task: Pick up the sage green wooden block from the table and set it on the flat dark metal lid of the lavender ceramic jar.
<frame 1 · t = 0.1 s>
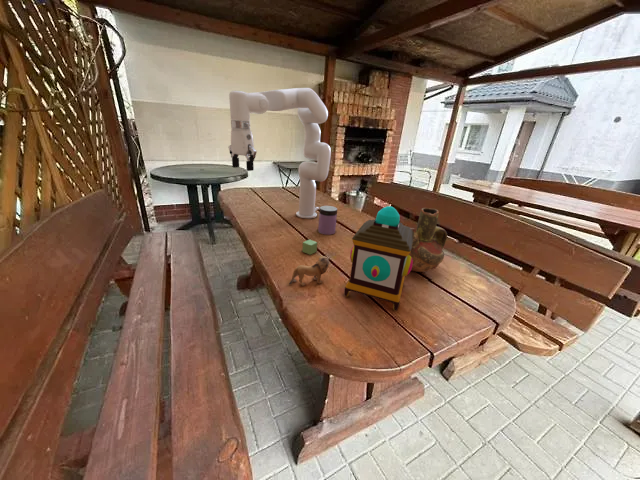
hand: (242, 168, 113), 31 cm above the table, tool pointing down, fingers open, 9 cm apart
ceramic vessel: (413, 269, 106), on the table
decorative lantern: (374, 290, 90), on the table
block: (309, 251, 114), on the table
lion figurine: (309, 281, 93), on the table
jar: (326, 231, 137), on the table
jar lid: (328, 209, 133), point 12 cm above the table, screwed on, not yet turned
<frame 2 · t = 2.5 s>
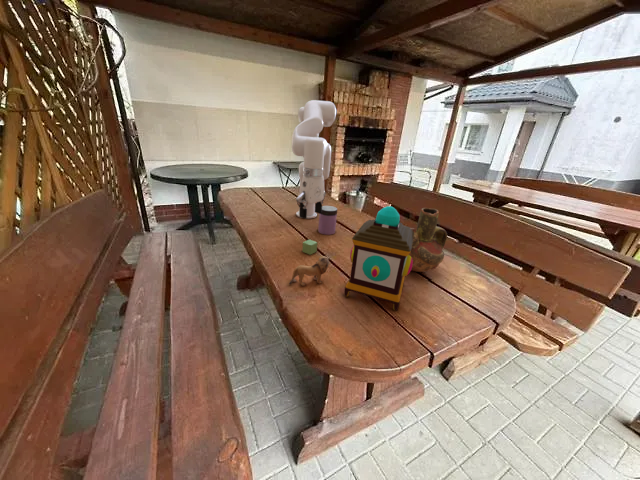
hand: (310, 215, 107), 17 cm above the table, tool pointing down, fingers open, 9 cm apart
nothing on the table moved.
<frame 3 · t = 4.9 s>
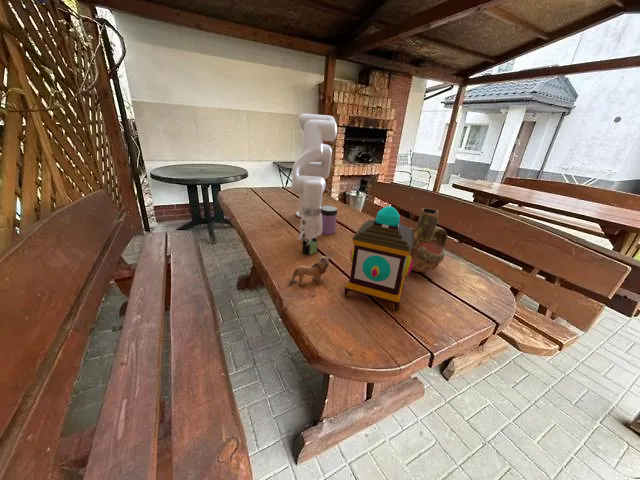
hand: (309, 250, 114), 1 cm above the table, tool pointing down, fingers closed on block, 4 cm apart
block: (309, 251, 114), on the table, touching gripper
everything else where it was.
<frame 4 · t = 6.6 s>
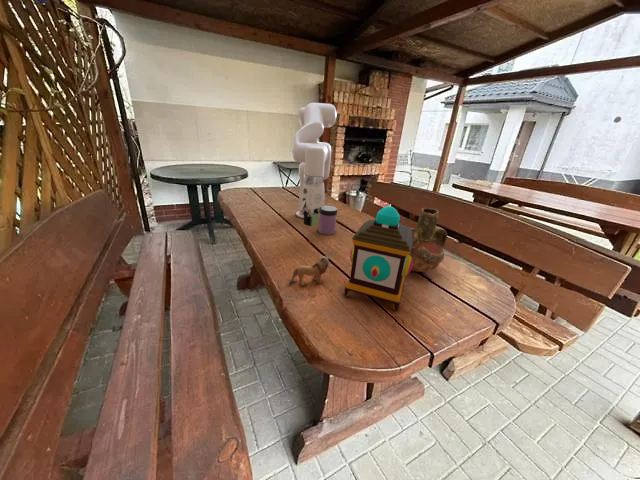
hand: (311, 222, 109), 13 cm above the table, tool pointing down, fingers closed on block, 4 cm apart
block: (311, 224, 109), point 13 cm above the table, touching gripper
everything else where it was.
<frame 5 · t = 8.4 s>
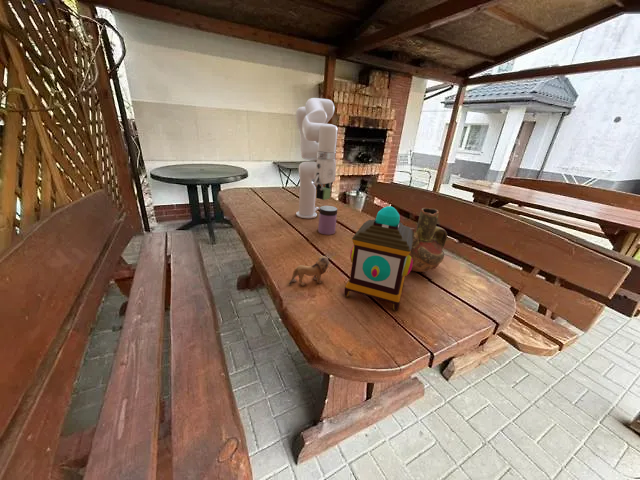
hand: (323, 197, 120), 21 cm above the table, tool pointing down, fingers closed on block, 4 cm apart
block: (323, 198, 120), point 20 cm above the table, touching gripper
everything else where it was.
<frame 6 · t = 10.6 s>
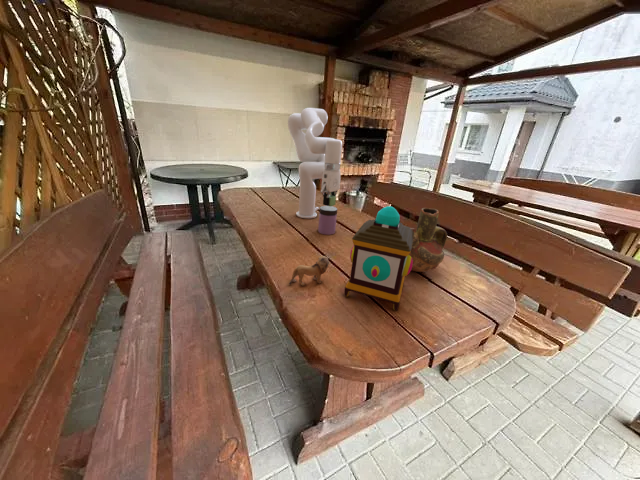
hand: (329, 203, 131), 15 cm above the table, tool pointing down, fingers closed on block, 4 cm apart
block: (329, 204, 132), point 14 cm above the table, touching gripper
everything else where it was.
when the fingers open (13 cm above the table, at t = 11.9 s): block stays where it is, resting on jar lid.
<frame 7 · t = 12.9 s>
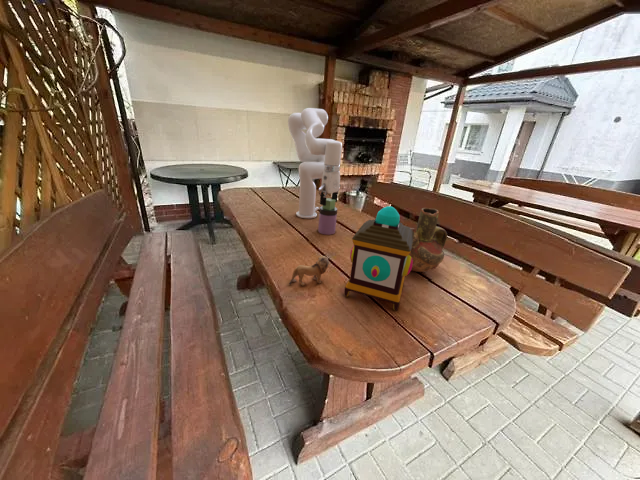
hand: (328, 203, 132), 15 cm above the table, tool pointing down, fingers open, 9 cm apart
block: (328, 208, 132), point 13 cm above the table, touching jar lid
jar lid: (328, 209, 133), point 12 cm above the table, screwed on, not yet turned, touching block
everything else where it was.
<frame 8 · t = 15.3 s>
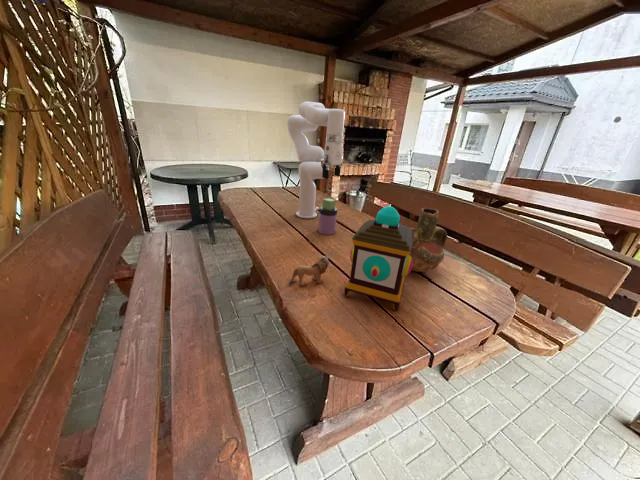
hand: (331, 177, 126), 28 cm above the table, tool pointing down, fingers open, 9 cm apart
nothing on the table moved.
at the end: block 0.1 cm off-centre on the jar, point 12.6 cm above the jar's base; block tilted 0° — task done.
